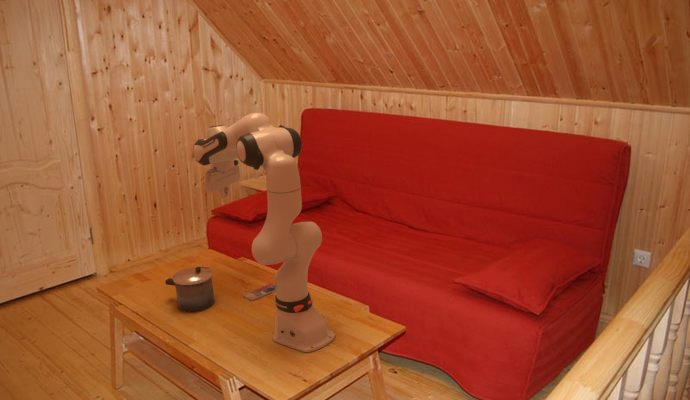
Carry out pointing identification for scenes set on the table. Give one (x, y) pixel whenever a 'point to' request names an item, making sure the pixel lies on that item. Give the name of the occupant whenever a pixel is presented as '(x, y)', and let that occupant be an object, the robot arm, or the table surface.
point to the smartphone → (260, 292)
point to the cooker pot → (194, 296)
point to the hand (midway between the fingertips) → (224, 197)
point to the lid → (192, 276)
